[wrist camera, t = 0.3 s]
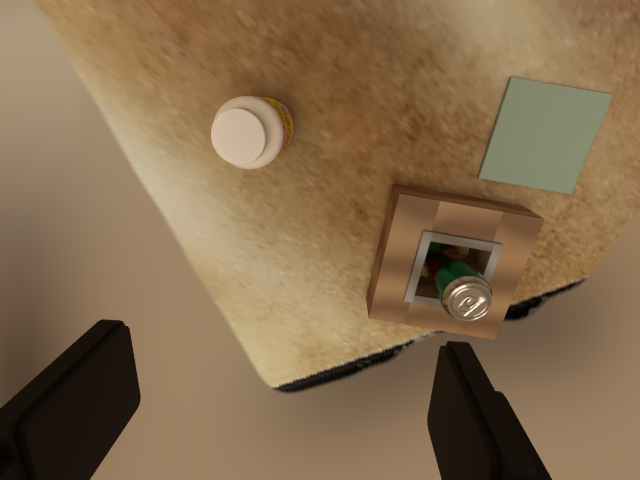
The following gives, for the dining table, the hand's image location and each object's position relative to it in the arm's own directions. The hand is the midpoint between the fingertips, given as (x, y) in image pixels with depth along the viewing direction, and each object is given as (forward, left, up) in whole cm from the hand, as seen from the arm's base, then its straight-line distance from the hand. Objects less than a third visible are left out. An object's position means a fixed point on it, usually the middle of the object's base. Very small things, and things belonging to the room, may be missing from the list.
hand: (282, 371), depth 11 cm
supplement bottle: (-3, -8, -36) cm, 37 cm away
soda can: (+9, +16, -36) cm, 40 cm away
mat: (-7, +23, -36) cm, 43 cm away
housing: (+9, +16, -36) cm, 40 cm away
